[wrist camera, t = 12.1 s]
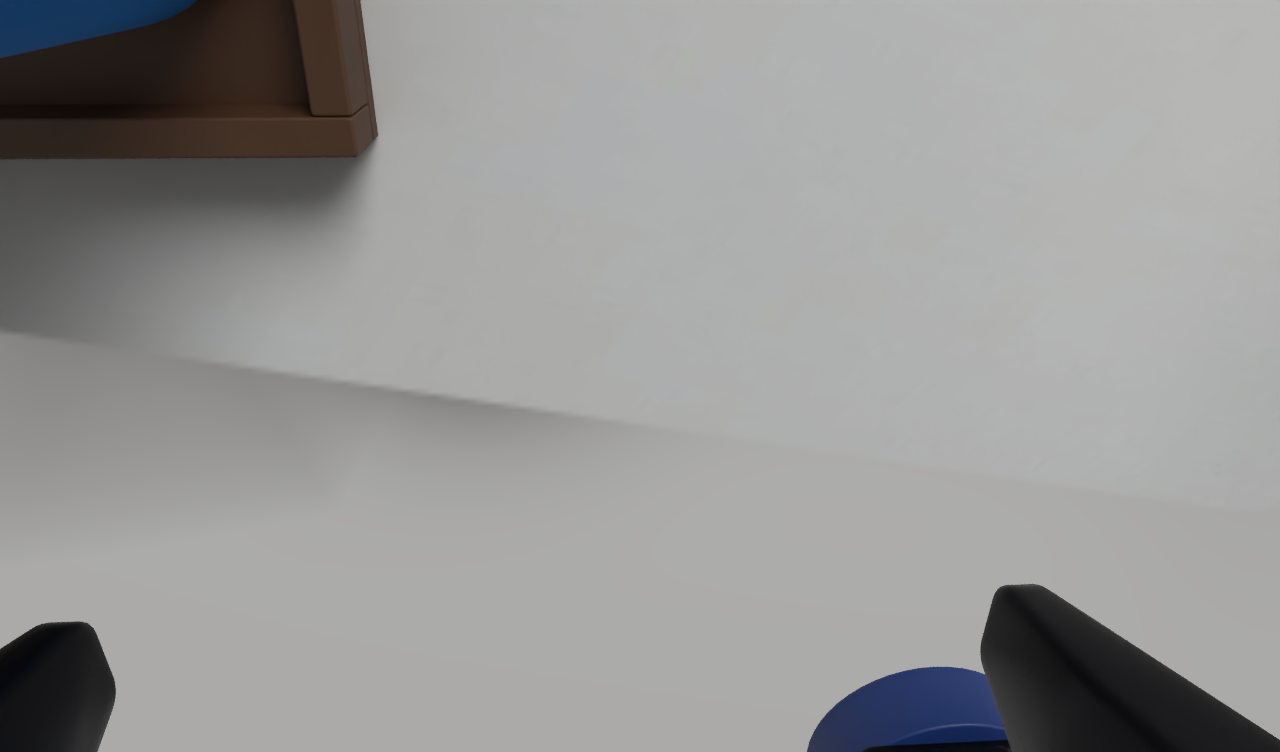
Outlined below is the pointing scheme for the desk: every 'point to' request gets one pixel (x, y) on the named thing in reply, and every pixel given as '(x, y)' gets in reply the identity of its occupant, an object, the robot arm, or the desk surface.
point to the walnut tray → (198, 87)
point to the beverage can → (75, 20)
